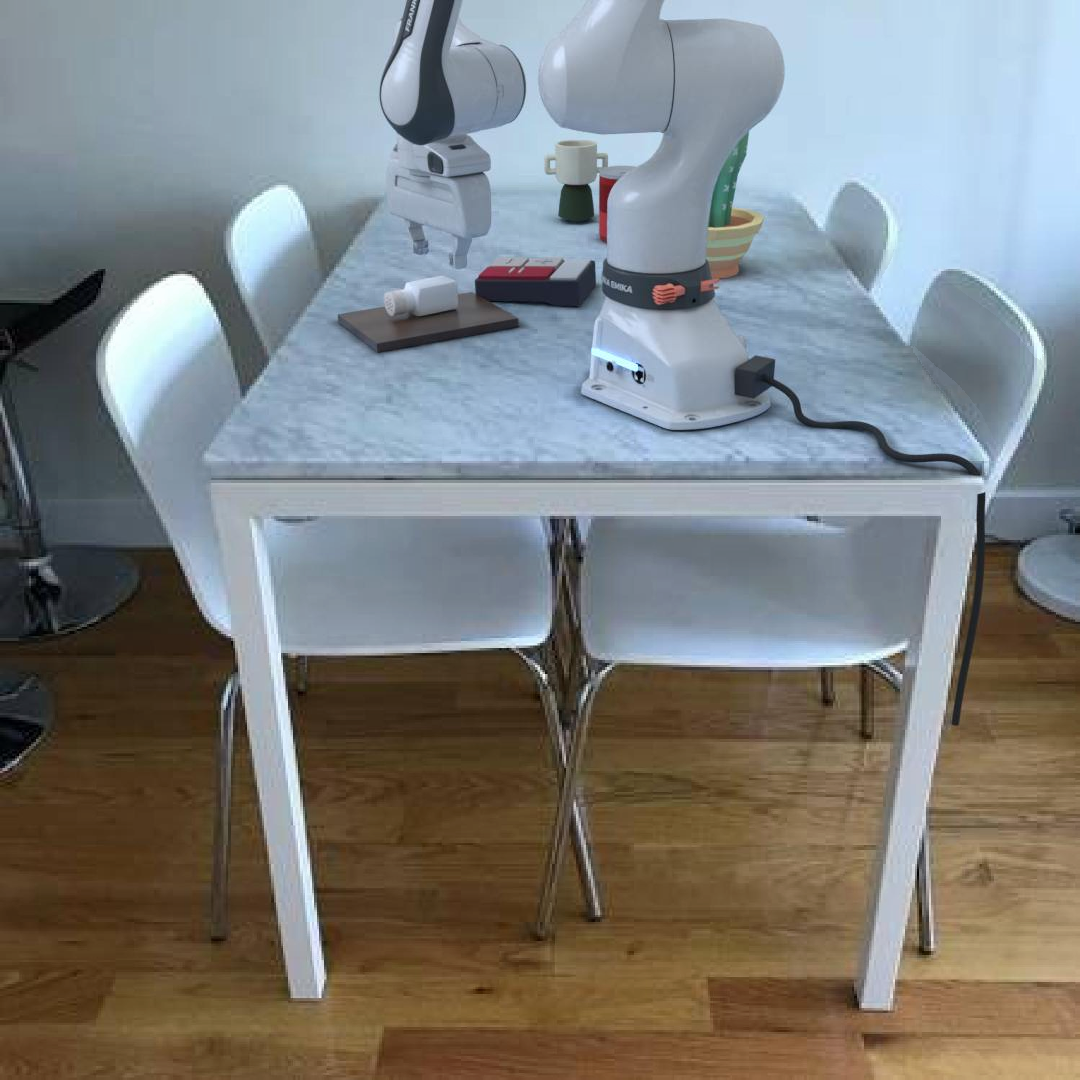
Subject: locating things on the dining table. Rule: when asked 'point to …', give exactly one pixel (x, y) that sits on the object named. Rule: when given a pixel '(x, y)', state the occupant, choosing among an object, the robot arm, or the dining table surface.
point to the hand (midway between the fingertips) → (439, 260)
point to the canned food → (606, 183)
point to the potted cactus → (730, 219)
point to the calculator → (537, 280)
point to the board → (427, 324)
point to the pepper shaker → (423, 297)
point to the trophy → (576, 176)
